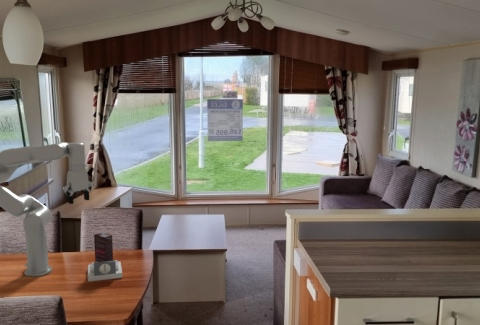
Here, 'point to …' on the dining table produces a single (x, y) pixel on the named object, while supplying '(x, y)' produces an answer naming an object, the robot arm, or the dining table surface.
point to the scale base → (104, 271)
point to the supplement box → (103, 247)
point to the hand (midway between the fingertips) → (78, 201)
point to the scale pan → (93, 266)
